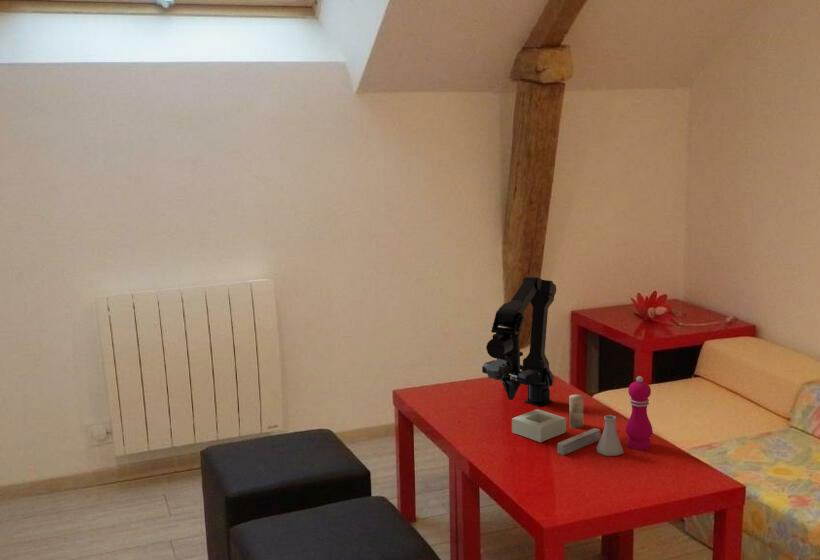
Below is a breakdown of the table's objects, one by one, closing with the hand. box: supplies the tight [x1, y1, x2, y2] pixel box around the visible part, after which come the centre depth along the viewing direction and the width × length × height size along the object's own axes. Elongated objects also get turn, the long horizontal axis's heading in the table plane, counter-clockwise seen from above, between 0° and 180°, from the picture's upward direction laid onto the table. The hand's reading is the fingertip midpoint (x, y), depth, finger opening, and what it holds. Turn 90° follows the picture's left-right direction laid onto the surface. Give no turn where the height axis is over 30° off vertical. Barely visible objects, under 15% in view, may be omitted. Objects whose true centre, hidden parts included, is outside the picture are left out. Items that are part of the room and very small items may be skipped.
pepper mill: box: [625, 375, 654, 451], centre depth 244 cm, size 7×7×20 cm
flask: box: [596, 414, 624, 457], centre depth 242 cm, size 7×7×10 cm
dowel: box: [568, 394, 584, 429], centre depth 262 cm, size 4×4×9 cm
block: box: [511, 408, 567, 443], centre depth 258 cm, size 11×11×4 cm
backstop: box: [556, 427, 601, 456], centre depth 247 cm, size 2×16×3 cm, turn 130°
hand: (511, 399), depth 265 cm, fingers closed
